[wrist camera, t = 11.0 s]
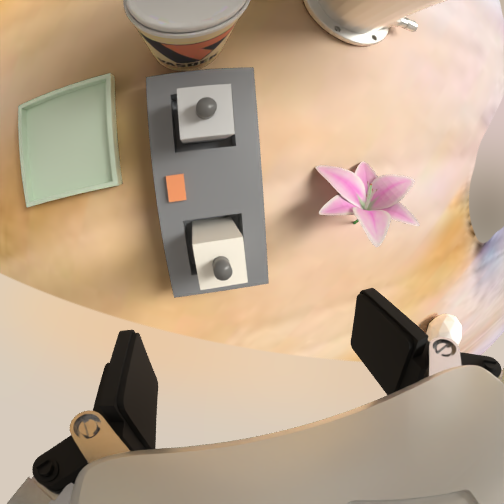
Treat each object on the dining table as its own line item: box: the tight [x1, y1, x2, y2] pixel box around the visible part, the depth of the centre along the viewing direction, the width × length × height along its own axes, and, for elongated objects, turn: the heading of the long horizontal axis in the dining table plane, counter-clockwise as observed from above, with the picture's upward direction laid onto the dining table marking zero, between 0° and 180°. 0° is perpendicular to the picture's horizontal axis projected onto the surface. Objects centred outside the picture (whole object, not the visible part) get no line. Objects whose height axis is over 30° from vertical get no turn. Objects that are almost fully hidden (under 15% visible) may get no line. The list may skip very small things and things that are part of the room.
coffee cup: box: [123, 0, 250, 71], centre depth 17 cm, size 9×9×12 cm
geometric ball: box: [426, 314, 462, 345], centre depth 41 cm, size 8×8×8 cm
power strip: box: [146, 68, 268, 298], centre depth 26 cm, size 22×10×4 cm, turn 4°
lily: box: [315, 161, 420, 247], centre depth 29 cm, size 12×12×10 cm
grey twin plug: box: [177, 84, 235, 145], centre depth 21 cm, size 4×4×10 cm
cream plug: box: [192, 216, 248, 290], centre depth 25 cm, size 4×4×10 cm
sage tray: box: [18, 73, 123, 207], centre depth 22 cm, size 12×12×2 cm
